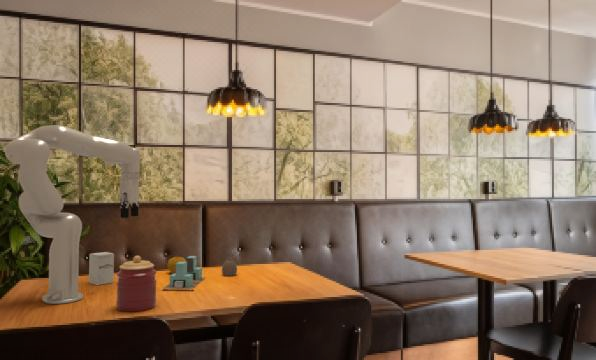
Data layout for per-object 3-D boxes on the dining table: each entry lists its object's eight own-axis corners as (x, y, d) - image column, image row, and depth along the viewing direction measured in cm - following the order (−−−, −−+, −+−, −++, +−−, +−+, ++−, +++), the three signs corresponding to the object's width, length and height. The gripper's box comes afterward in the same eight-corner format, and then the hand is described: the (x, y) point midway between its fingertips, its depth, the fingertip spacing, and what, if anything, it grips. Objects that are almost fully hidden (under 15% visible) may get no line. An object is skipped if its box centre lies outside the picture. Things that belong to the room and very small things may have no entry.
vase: (238, 275, 205) (238, 257, 205) (234, 279, 198) (235, 259, 198) (224, 275, 205) (224, 256, 205) (219, 278, 199) (220, 259, 199)
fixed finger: (201, 277, 196) (202, 256, 196) (198, 280, 190) (198, 258, 190) (184, 277, 196) (184, 255, 196) (180, 279, 190) (180, 257, 191)
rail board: (192, 291, 174) (192, 282, 174) (162, 290, 175) (162, 282, 175) (206, 279, 196) (206, 271, 196) (180, 279, 197) (180, 271, 197)
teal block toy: (169, 287, 177) (169, 263, 177) (174, 284, 182) (174, 261, 182) (189, 287, 176) (189, 263, 176) (193, 284, 182) (193, 261, 182)
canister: (160, 301, 158) (161, 252, 159) (149, 312, 145) (150, 258, 146) (124, 301, 158) (124, 252, 158) (110, 312, 145) (110, 258, 145)
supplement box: (97, 285, 183) (97, 255, 183) (88, 283, 187) (88, 253, 187) (114, 282, 189) (114, 253, 189) (104, 280, 193) (105, 251, 193)
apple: (165, 274, 207) (165, 255, 207) (184, 272, 211) (185, 254, 211) (168, 278, 199) (168, 258, 199) (188, 276, 203) (188, 257, 203)
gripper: (130, 177, 197) (129, 215, 197) (112, 176, 180) (111, 218, 179) (146, 177, 196) (146, 215, 196) (130, 176, 179) (129, 218, 179)
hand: (129, 216), depth 188 cm, fingers open, 9 cm apart
